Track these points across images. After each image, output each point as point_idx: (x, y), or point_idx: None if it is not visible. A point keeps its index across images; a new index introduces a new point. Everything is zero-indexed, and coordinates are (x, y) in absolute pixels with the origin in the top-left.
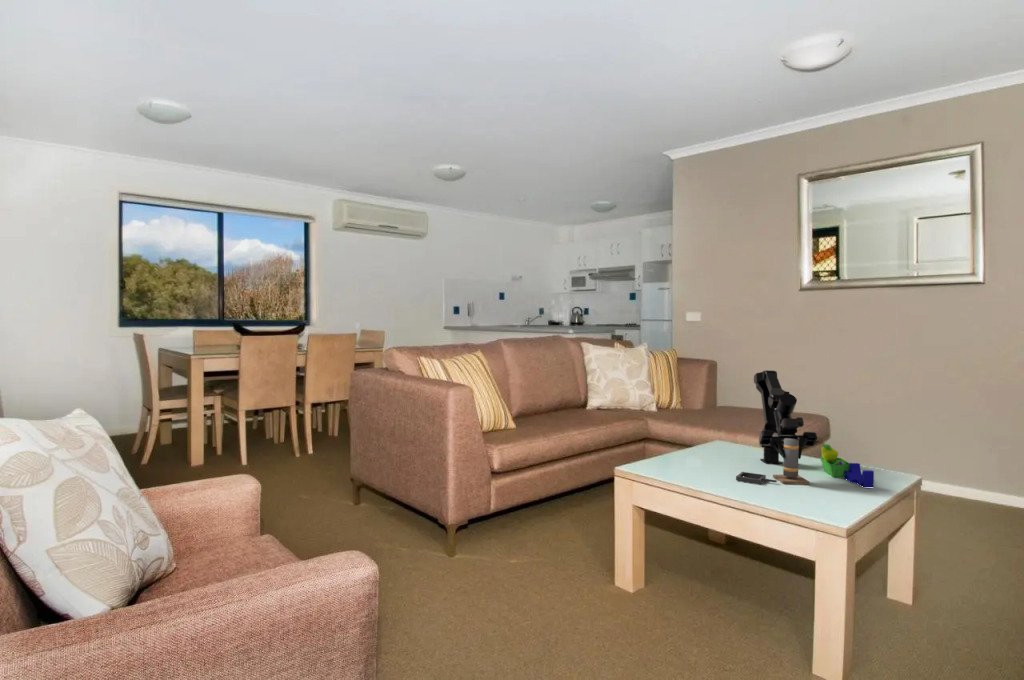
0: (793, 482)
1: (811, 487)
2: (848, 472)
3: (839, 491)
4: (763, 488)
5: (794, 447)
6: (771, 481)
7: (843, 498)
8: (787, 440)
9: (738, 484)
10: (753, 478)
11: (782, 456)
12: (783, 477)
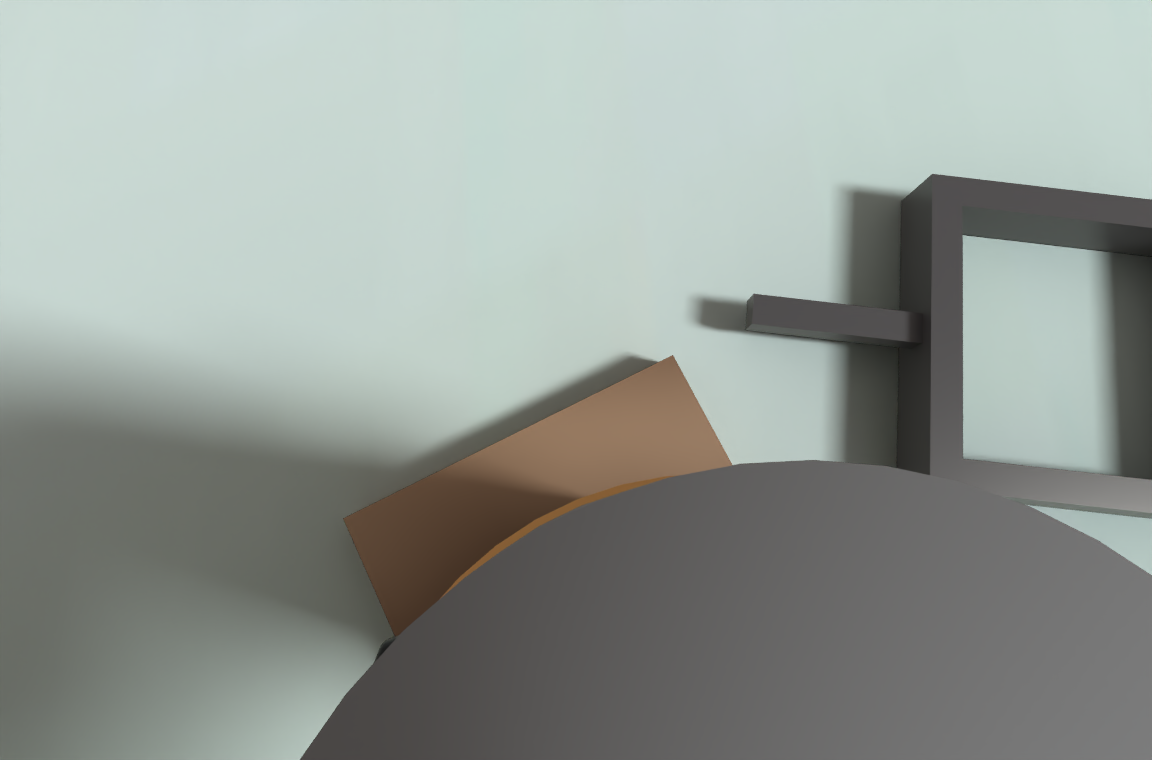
0: (547, 419)
1: (332, 375)
2: None
3: (8, 350)
4: (837, 63)
5: (536, 524)
6: (806, 304)
7: (11, 66)
8: (1049, 519)
9: (1110, 96)
10: (1025, 213)
11: None
12: None
